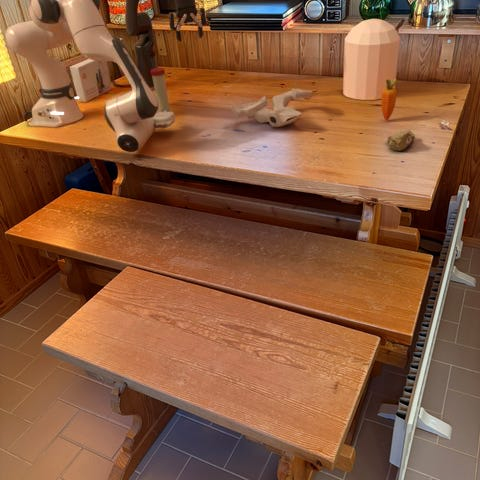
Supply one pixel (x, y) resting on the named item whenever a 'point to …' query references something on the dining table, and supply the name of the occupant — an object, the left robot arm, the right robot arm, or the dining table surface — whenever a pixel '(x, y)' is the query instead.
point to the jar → (161, 92)
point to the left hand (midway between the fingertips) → (153, 112)
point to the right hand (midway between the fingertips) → (190, 39)
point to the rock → (400, 140)
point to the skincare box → (90, 79)
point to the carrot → (388, 99)
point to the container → (370, 59)
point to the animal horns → (280, 112)
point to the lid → (157, 71)
